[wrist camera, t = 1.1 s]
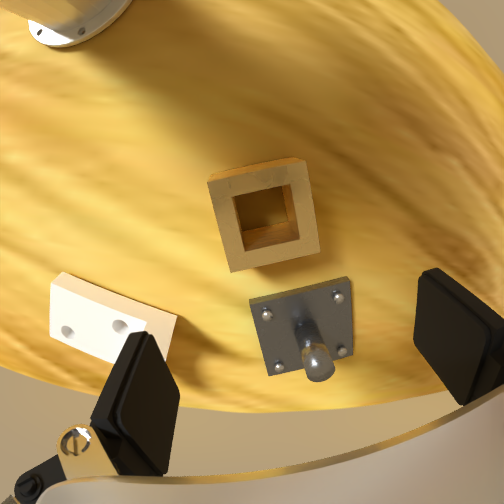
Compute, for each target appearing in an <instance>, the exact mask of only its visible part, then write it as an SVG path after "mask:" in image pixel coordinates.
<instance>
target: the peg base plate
mask: <svg viewBox="0 0 504 504" xmlns="http://www.w3.org/2000/svg"><path fill="white" fill-rule="evenodd" d="M249 303H250V308H251V312H252V316H253V319H254V323H255V327H256V331H257V335H258V338H259V342H260V346H261V350H262V353H263V357H264V361H265V365H266V368H267V372H268V376H272V375H277V374H282V373H286V372H290V371H295V370H299V369H303V368H305V371H306V374H307V377H308V379H309V380H310V381H313V382H322V381H325V380H327V379H329V378H330V377H331V376H332V375H333V374H334V372H335V366H334V363H333V361H334V360H337V359H341V358H344V357H348V356H351V355H353V333H352V308H351V291H350V280H349V279H348V278H347V276H346V277H342V278H338V279H334V280H330V281H326V282H322V283H318V284H314V285H310V286H306V287H301V288H297V289H293V290H289V291H285V292H280V293H276V294H271V295H267V296H263V297H258V298H254V299H249Z"/></svg>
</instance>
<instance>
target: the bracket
mask: <svg viewBox="0 0 504 504" xmlns="http://www.w3.org/2000/svg"><path fill="white" fill-rule="evenodd" d="M176 318H177V316H176V315H174V314H171V313H168V312H165V311H162V310H159V309H156V308H153V307H151V306H148V305H145V304H142V303H140V302H137V301H134V300H132V299H129V298H126V297H124V296H121V295H118V294H116V293H113V292H111V291H108V290H106V289H103V288H101V287H98V286H96V285H93V284H91V283H88V282H86V281H84V280H81V279H79V278H77V277H74V276H72V275H70V274H67V273H65V272H62V273H61V274H60V275H59V276H57V277H56V278H55V279H54V280H53V281H52V282H51V293H50V336H51V337H53V338H55V339H57V340H59V341H61V342H63V343H66V344H68V345H70V346H72V347H74V348H77V349H79V350H81V351H84V352H86V353H88V354H91V355H93V356H95V357H98V358H100V359H103V360H105V361H108V362H110V363H113V364H115V362H116V360H117V358H118V356H119V354H120V352H121V349H122V347H123V345H124V343H125V341H126V339H127V337H128V335H129V334H130V333H132V332H139V331H147V332H148V334H152V335H153V336H154V338H155V340H156V342H157V345H158V347H159V349H160V351H161V353H162V356H163V358H164V360H165V361H166V358H167V354H168V350H169V346H170V342H171V338H172V334H173V330H174V326H175V322H176Z"/></svg>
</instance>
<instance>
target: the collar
mask: <svg viewBox="0 0 504 504" xmlns="http://www.w3.org/2000/svg"><path fill="white" fill-rule="evenodd" d="M207 184H208V188H209V192H210V196H211V200H212V204H213V208H214V212H215V215H216V219H217V223H218V227H219V231H220V235H221V238H222V242H223V246H224V250H225V254H226V257H227V261H228V265H229V268H230V272H231V273H232V272H236V271H241V270H245V269H250V268H254V267H259V266H263V265H268V264H272V263H276V262H281V261H285V260H290V259H294V258H298V257H303V256H307V255H311V254H315V253H320V252H321V251H320V244H319V237H318V230H317V223H316V217H315V210H314V204H313V198H312V192H311V186H310V180H309V175H308V169H307V164H306V161H305V160H301V159H298V158H295V157H288V158H283V159H278V160H273V161H268V162H263V163H258V164H254V165H249V166H244V167H240V168H236V169H231V170H227V171H223V172H219V173H214V174H211V176H210V178H209V180H208V181H207ZM278 186H282V191H283V196H284V201H285V207H286V212H287V217H288V221H287V222H283V223H278V224H274V225H269V226H265V227H260V228H256V229H251V230H247V231H243V232H242V228H241V224H240V220H239V216H238V212H237V207H236V203H235V199H234V196H237V195H241V194H246V193H250V192H255V191H259V190H264V189H269V188H273V187H278Z"/></svg>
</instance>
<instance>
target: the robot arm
mask: <svg viewBox="0 0 504 504" xmlns="http://www.w3.org/2000/svg"><path fill="white" fill-rule="evenodd" d="M131 2H132V0H0V8H2V9H4V10H7V11H9V12H12V13H14V14H16V15H19V16H21V17H23V18H25V19H28V21H29V29H30V31H31V34H32V36H33V37H34V38H35V39H36V40H37V41H39V42H40V43H42V44H44V45H47V46H50V47H57V48H60V47H69V46H72V45H76V44H79V43H81V42H83V41H86V40H88V39H90V38H92V37H93V36H95V35H97V34H98V33H100V32H101V31H103V30H104V29H105V28H107V27H108V26H109V25H111V24H112V23H113V22H114V21H115V20H116V19H117V18H118V17H119V16H120V15H121V14H122V13H123V12H124V11H125V10H126V8H127V7H128V6H129V5H130V3H131ZM413 340H414V344H415V346H416V347H417V349H418V350H419V351H420V353H421V354H422V355H423V357H424V358H425V359H426V360H427V362H428V363H429V364H430V366H431V367H432V368H433V370H434V371H435V372H436V374H437V375H438V377H439V378H440V379H441V381H442V382H443V383H444V385H445V386H446V388H447V389H448V390H449V392H450V393H451V394H452V396H453V397H454V399H455V400H456V402H457V403H458V404H459V405H463V407H461V408H460V409H458V410H456V411H454V412H452V413H450V414H448V415H446V416H443V417H441V418H439V419H437V420H435V421H433V422H430V423H428V424H426V425H424V426H421V427H419V428H416V429H414V430H412V431H409V432H407V433H404V434H402V435H399V436H396V437H394V438H391V439H388V440H386V441H383V442H380V443H377V444H374V445H371V446H368V447H364V448H361V449H358V450H355V451H351V452H348V453H344V454H341V455H337V456H333V457H329V458H325V459H321V460H316V461H312V462H307V463H303V464H297V465H293V466H287V467H281V468H276V469H269V470H263V471H255V472H246V473H237V474H227V475H210V476H187V477H186V476H184V477H163V474H166V473H167V472H168V466H169V460H170V452H171V447H172V440H173V435H174V429H175V423H176V417H177V411H178V406H179V400H180V393H179V389H178V387H177V385H176V383H175V381H174V379H173V377H172V375H171V373H170V371H169V368H168V366H167V364H166V362H165V360H164V358H163V356H162V353H161V351H160V349H159V347H158V345H157V342H156V340H155V338H154V336H153V335H152V334H148V332H147V331H139V332H132V333H130V334H129V335H128V337H127V339H126V341H125V343H124V345H123V347H122V349H121V352H120V354H119V356H118V358H117V360H116V362H115V364H114V366H113V368H112V370H111V373H110V375H109V377H108V379H107V381H106V383H105V386H104V388H103V390H102V392H101V394H100V397H99V399H98V401H97V404H96V406H95V408H94V411H93V413H92V415H91V417H90V418H91V420H92V421H91V423H90V426H88V425H85V424H79V425H78V424H77V425H74V426H71V427H69V428H68V429H66V430H65V431H64V432H63V433H62V434H61V435H60V437H59V438H58V441H57V445H56V447H57V453H58V454H57V455H55V456H54V457H52V458H50V459H49V460H47V461H45V462H43V463H42V464H40V465H38V466H36V467H34V468H33V469H31V470H29V471H27V472H25V473H24V474H22V475H21V476H20V477H19V479H18V480H17V482H16V484H15V488H14V492H15V497H13V496H12V495H10V496H9V497H8V498H7V499H6V500H5V501H3V502H2V504H504V319H503V318H502V317H501V316H500V315H498V314H497V313H496V312H495V311H494V310H492V309H491V308H490V307H489V306H487V305H486V304H485V303H484V302H482V301H481V300H480V299H479V298H477V297H476V296H475V295H474V294H472V293H471V292H470V291H468V290H467V289H466V288H465V287H463V286H462V285H461V284H459V283H458V282H457V281H455V280H454V279H453V278H451V277H450V276H449V275H447V274H446V273H445V272H443V271H442V270H440V269H439V268H433V269H430V270H427V271H424V272H423V273H422V275H421V276H420V277H419V279H418V293H417V306H416V317H415V327H414V336H413Z"/></svg>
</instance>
